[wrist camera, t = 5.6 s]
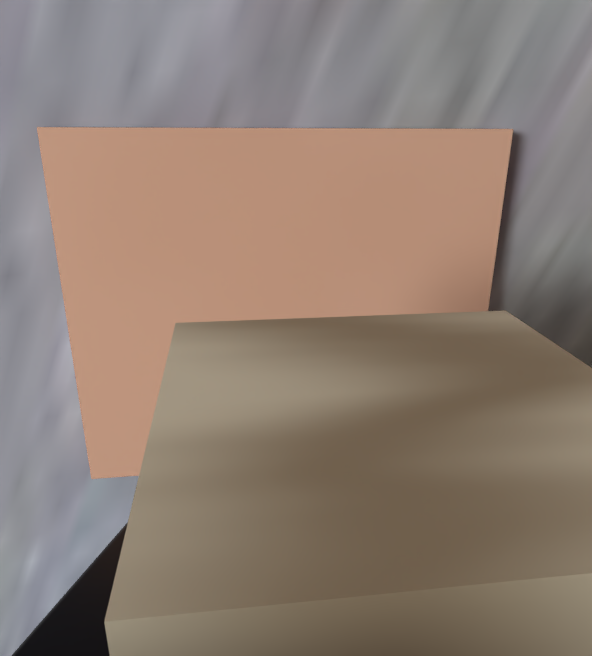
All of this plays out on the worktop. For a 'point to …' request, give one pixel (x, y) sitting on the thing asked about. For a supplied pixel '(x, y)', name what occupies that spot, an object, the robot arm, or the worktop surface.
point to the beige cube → (362, 493)
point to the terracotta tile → (254, 242)
